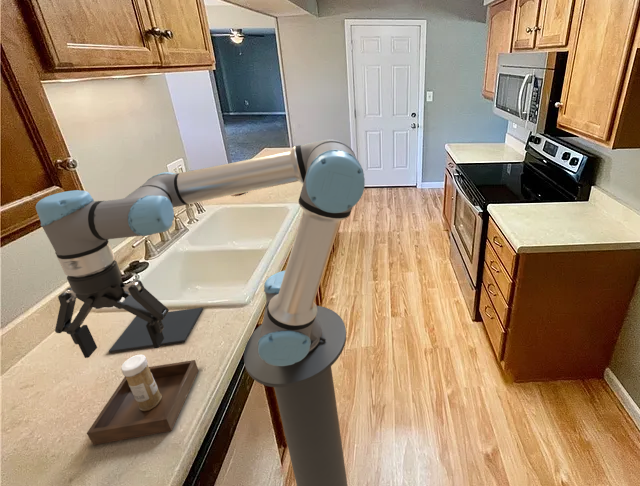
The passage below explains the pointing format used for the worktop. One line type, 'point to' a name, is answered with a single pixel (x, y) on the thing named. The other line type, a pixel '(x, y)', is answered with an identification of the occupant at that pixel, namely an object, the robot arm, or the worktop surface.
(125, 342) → the mat
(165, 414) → the tray
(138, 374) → the sprinkles bottle
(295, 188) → the worktop surface
